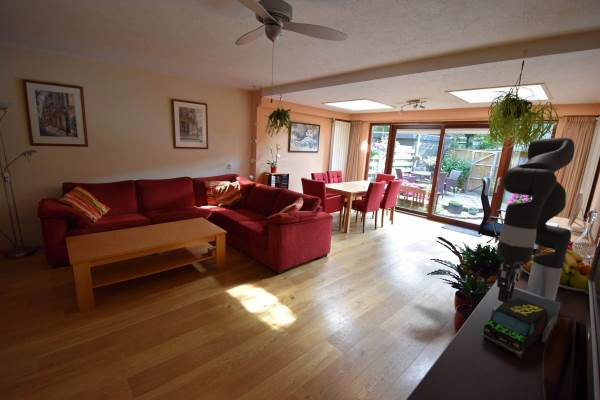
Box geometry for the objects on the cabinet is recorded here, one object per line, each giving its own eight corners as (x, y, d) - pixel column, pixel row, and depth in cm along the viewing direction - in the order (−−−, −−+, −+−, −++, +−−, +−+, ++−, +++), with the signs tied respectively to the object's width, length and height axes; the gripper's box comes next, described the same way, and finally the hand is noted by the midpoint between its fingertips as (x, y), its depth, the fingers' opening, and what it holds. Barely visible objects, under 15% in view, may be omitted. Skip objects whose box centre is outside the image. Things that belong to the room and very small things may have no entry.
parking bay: (506, 303, 111) (510, 285, 109) (556, 322, 99) (560, 303, 97) (490, 318, 99) (494, 299, 98) (544, 342, 87) (549, 320, 86)
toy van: (479, 340, 87) (484, 312, 85) (509, 318, 101) (515, 293, 99) (518, 362, 78) (525, 331, 77) (546, 334, 92) (552, 308, 90)
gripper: (507, 234, 80) (497, 287, 83) (491, 241, 72) (480, 300, 74) (540, 241, 74) (528, 297, 77) (526, 250, 66) (513, 313, 69)
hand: (504, 298), depth 76 cm, fingers open, 3 cm apart
